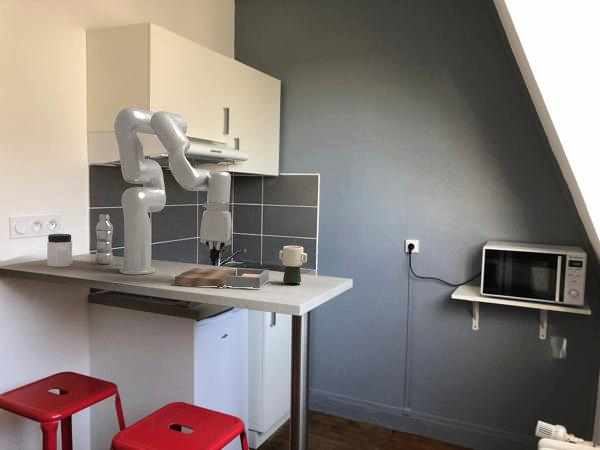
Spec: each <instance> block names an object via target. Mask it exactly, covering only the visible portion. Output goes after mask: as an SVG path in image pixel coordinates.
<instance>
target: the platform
mask: <svg viewBox="0 0 600 450" xmlns="http://www.w3.org/2000/svg"><path fill="white" fill-rule="evenodd" d="M227 275H229V276H237V269H236V270H233V269H217V268H199V267H198V268H197V267H192V268H190V269H188V270H186V271H184V272H182V273H180V274H178V275H176V276H175V277H174V286H175V285H183V286H182V287H187V286H217V287H223V286H224V285H226V276H227Z"/></svg>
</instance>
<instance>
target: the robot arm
mask: <svg viewBox="0 0 600 450" xmlns="http://www.w3.org/2000/svg"><path fill="white" fill-rule="evenodd" d="M113 128H114V135H115V139H116V142H117V146H118V153H119V154H118V155H119V161H120V169H121V174H122V177H123V180H124V181H125V182H127V183H129V184H135V185H137V184H138V185H143V186H134V187H129V188H127V189H125V191H123V193H122V195H121V207H122V212H123V220H124V221H123V230H124V231H123V232H124V233H123V235H124V236H123V237H124V239H123V245H124V246H123V259H120V260H119V259H115V260H114V266H118V267H120V269H119V273H121V274H123V275H148V274H153V273H155V272H156V268H155V267H153V266H152V222H151V219H150V216H149V214H148V213H158V212H160V211H162V210H163V209H164V208H165V206H166V203H167V195H166V188H165V181H164V180H165V179H164V172H163V170H162V167H161V165H160V164H159V163H158V162H157V161H156V160H154V159H150V158H146V157H145V154H144V147H143V143H142V141H141V139H140V138H139V136H138V135H137V133H140V134H147V135H155V136H156V137H157V139H158V140H159V141H160V143H161V144H162V146H163V147H164V149H165V151H166V152H167V154H168V166H169V169H170V172H171V174H172V176H173V177H174V179H175V181H176V182H177V183H178V184H179V185H180V187H181V188H182V189H184V190H186V191H189V192H190V191H191V192H197V191H199V192H207V194H206V196H207V198H206V202H203V203H202V207H203V208H205V209H206V210H203V214H202V218H201V222H200V223H201V224H200V231H199V237H200V240H199V242H200V243H203V244H206V246H207V247H208V248H209V250H210V252H209V254H210V255H209V258H210V261H211V262H217V261H219V259H220V258H221V249H222V248H224V247H227V246H230V245H232V235H233V234H232V233H233V232H232V231H233V230H232V229H233V226H232V225H233V224H232V223H233V221H232V213H231V212H230V198H231V181H232V177H231V174H230V172H229V171H220V170H211V169H204V168H203V169H202V168H194V167H192V165H191V164H190V162H189V161H188V160H187V157H186V153H187V152H188V151H189V150H190V148H191V141H190V140H189V138H188V137H187V136H186V133H187V132H188V123H187V121H186V119H185V118H184V117H183V115H180V114H177V113H174V112H169V111H164V110H163V111H162V110H161V111H157V112H156V111H151V110H146V109H142V108H137V107H126V108H123V109H122V110H120V111H119V112H118V113H117V115H116V117H115V120H114V126H113Z"/></svg>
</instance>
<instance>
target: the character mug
mask: <svg viewBox="0 0 600 450" xmlns="http://www.w3.org/2000/svg"><path fill="white" fill-rule="evenodd" d="M278 254H279V255H278V259H279V260H280V261H282V265H283V266H285V268H284V273H283V278H282V279H283V280H282V282H283V284H287V283H297V284H301V283H302V275H301V268H300V267H301V266H302V265H304V264H306V263H307V262H308V253H305V252H304V247H303V246H300V245H285V246H282V250H279V253H278ZM300 282H301V283H300Z"/></svg>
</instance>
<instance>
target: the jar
mask: <svg viewBox="0 0 600 450" xmlns="http://www.w3.org/2000/svg"><path fill="white" fill-rule="evenodd" d="M47 240H48V241H47V243H46V245H47V248H46V249H47V251H46V253H47V257H46V258H47V259H46V261H47V263H46V264H47V265H46V266H47V267H50V268H51V267H52V268H53V267H54V268H62V267H63V268H64V267H70V266H72V264H73V241H72V234H69V233H51V234H48V235H47Z"/></svg>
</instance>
